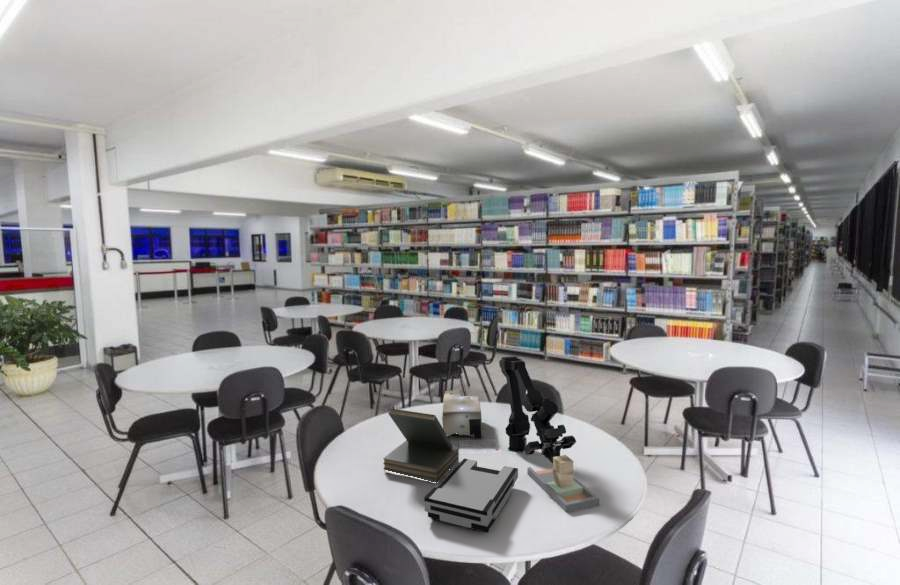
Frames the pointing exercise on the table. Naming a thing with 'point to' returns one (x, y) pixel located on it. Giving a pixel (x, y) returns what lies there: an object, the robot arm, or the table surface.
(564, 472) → the block
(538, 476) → the box
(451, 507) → the game console
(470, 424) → the projector
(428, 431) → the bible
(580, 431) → the table surface
